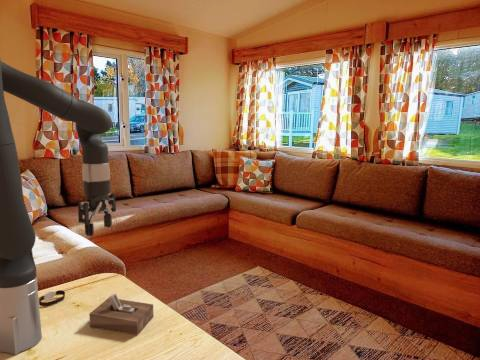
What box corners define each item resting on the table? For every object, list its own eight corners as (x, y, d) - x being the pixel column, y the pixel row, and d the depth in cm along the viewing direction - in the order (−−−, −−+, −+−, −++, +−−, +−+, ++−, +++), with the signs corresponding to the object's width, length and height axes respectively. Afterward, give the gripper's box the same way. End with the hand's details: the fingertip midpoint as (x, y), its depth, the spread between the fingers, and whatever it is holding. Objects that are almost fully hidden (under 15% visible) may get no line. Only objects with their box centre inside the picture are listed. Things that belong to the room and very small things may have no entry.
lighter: (135, 322, 101) (134, 296, 100) (132, 325, 100) (131, 299, 98) (113, 318, 103) (112, 292, 101) (109, 321, 101) (108, 295, 100)
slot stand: (137, 335, 95) (137, 321, 94) (90, 326, 98) (89, 313, 98) (153, 316, 104) (153, 304, 103) (109, 309, 107) (108, 297, 107)
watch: (61, 295, 116) (60, 284, 115) (68, 300, 113) (67, 289, 112) (36, 304, 110) (35, 293, 109) (43, 309, 107) (42, 298, 106)
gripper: (100, 173, 111) (103, 223, 114) (68, 181, 98) (71, 237, 100) (121, 175, 109) (123, 225, 112) (91, 183, 96) (94, 240, 98)
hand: (99, 231), depth 106 cm, fingers open, 8 cm apart
